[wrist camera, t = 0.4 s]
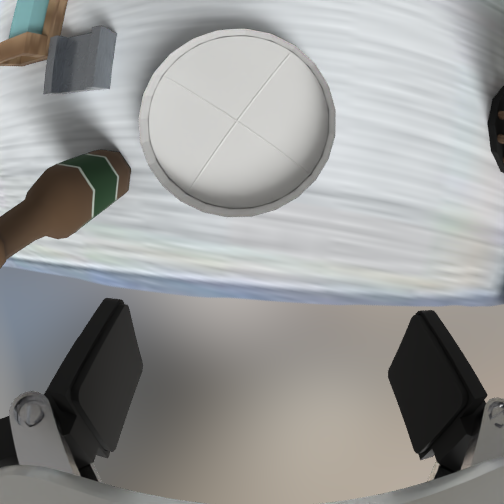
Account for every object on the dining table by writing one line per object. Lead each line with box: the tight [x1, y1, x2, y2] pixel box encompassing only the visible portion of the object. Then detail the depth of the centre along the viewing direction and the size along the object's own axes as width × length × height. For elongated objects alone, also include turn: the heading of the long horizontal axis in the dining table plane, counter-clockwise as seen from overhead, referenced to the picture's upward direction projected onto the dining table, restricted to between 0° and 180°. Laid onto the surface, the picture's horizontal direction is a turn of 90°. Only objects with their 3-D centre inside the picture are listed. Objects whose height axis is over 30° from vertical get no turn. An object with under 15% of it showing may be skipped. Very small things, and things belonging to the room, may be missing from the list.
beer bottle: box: [0, 150, 131, 268], centre depth 26 cm, size 8×8×24 cm
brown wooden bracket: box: [0, 0, 68, 66], centre depth 22 cm, size 14×8×8 cm, turn 174°
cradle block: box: [44, 26, 117, 94], centre depth 28 cm, size 8×8×5 cm
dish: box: [138, 29, 335, 217], centre depth 32 cm, size 22×22×5 cm
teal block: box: [9, 0, 49, 39], centre depth 21 cm, size 12×4×4 cm, turn 173°
